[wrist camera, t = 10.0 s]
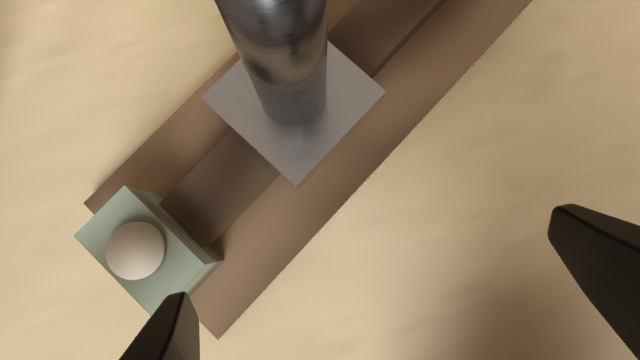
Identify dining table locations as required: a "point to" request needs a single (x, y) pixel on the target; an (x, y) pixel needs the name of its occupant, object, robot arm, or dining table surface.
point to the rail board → (333, 175)
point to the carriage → (289, 85)
